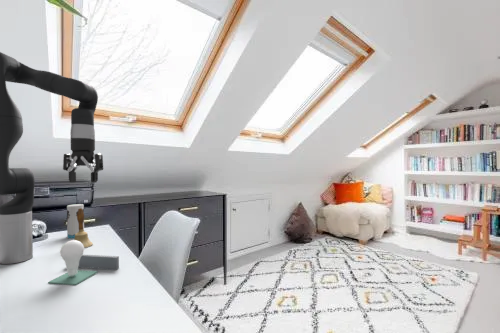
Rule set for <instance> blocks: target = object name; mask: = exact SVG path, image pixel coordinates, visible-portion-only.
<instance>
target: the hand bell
mask: <svg viewBox="0 0 500 333" xmlns="http://www.w3.org/2000/svg"><path fill="white" fill-rule="evenodd" d="M77 220H78V223H79V232H78V233H76V234H75V238H73V240H77V241H80V242H81V243H82V244H83V246H84V249H87V248H88V247H89V248H90V247H92V246H94V244H93V242H92V241H91V240H90V239H89V235H88V232H87V231H85V228H84V229H83V221H84V222H85V211H84V212H83V210H82V208H79V209H78V213H77Z"/></svg>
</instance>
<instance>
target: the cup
mask: <svg viewBox="0 0 500 333" xmlns="http://www.w3.org/2000/svg"><path fill="white" fill-rule="evenodd" d="M79 208H82V210H83V212H84V213H85V209H84V208H85V205H84V204H83V203H77V204H68V205H67V206H66V221H67V222H66V224H67V225H66V227H67V228H66V231H67V232H66V233H67V235H66V236H67V237H68V238H67V239H75V234H76V233H78V232H79V223H78V220H77V213H78V209H79ZM83 229H84V230H85V220H84V221H83Z"/></svg>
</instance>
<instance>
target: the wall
mask: <svg viewBox="0 0 500 333" xmlns="http://www.w3.org/2000/svg"><path fill="white" fill-rule="evenodd" d="M79 268H80V269H97V270H99V269H100V270H114V271H116V270H118V269H120V256H116V255H102V254H101V255H100V254H82V256H81V258H80V261H79V266H78V269H79Z"/></svg>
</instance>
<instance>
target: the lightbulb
mask: <svg viewBox="0 0 500 333" xmlns="http://www.w3.org/2000/svg"><path fill="white" fill-rule="evenodd" d="M59 251H60V252H59V254H60V257H61V259H62V260H63V261H64V264H65V266H66V267H65V268H66V270H67V271H66V273H67V272H68V276H71V277H73V276H75V275H76V274H77V273H78V270H79V268H78V266H79V261H80V258H81V256H82V255H84V252H85V248H84V246H83V244H82V243H81V242H80V241H77V240H74V239H72V240H68V241H65V243H64V244H63V245H62V246H61V247H60V249H59Z"/></svg>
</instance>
